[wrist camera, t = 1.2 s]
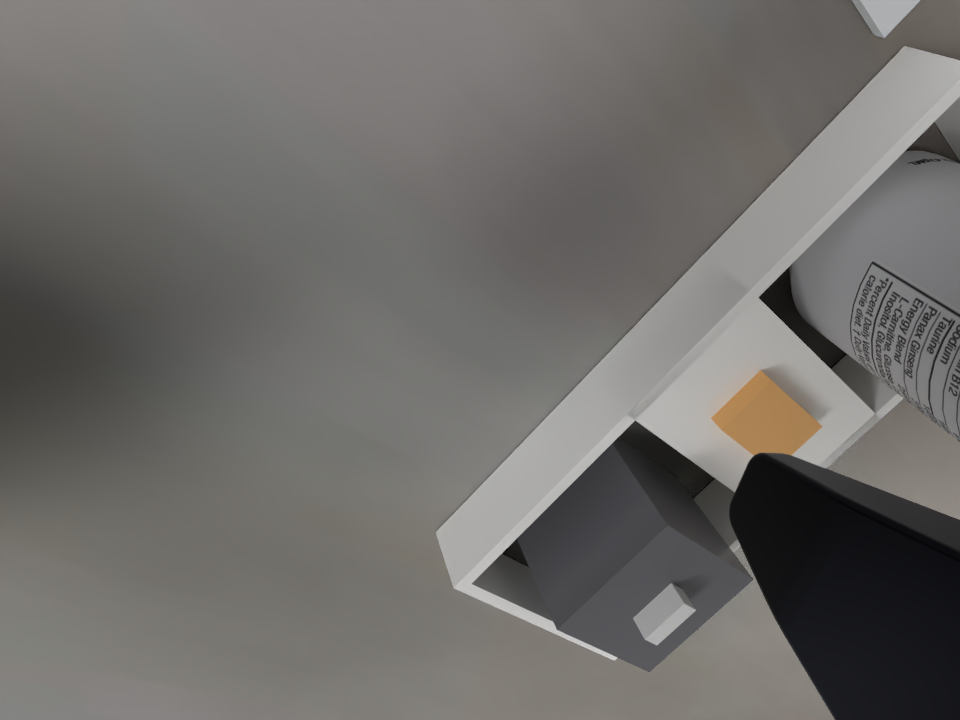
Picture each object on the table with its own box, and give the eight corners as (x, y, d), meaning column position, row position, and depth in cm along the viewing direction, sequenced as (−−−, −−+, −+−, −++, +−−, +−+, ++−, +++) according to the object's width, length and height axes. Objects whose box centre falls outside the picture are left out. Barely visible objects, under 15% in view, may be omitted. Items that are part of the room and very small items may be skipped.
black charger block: (589, 560, 29) (660, 693, 25) (505, 514, 27) (567, 652, 22) (676, 476, 28) (768, 599, 24) (597, 421, 26) (681, 545, 21)
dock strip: (587, 607, 31) (621, 674, 28) (435, 532, 27) (458, 603, 24) (1008, 212, 26) (1093, 250, 24) (904, 45, 22) (994, 69, 19)
